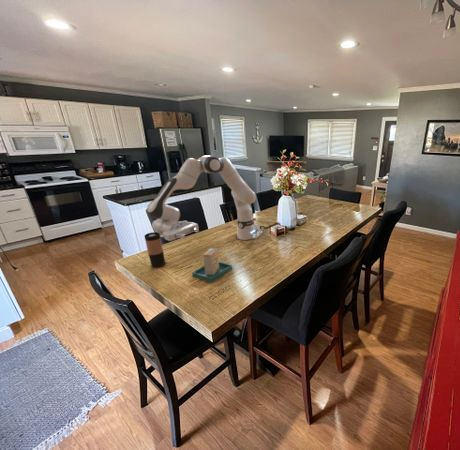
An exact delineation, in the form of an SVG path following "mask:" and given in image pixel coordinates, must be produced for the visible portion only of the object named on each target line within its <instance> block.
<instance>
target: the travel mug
mask: <svg viewBox="0 0 460 450" xmlns="http://www.w3.org/2000/svg"><path fill="white" fill-rule="evenodd" d="M160 235H161V234H159V233H158V232H155V231H152V232H148V233H146V234H144V240H145V245H146V250H147V253H148V258H149V261H150V264H151V267H152V268H153V269H156V268H157V269H158V268H162V267H164V266H165V265H166V259H165V253H164V248H163V244H162V239H161V237H160Z"/></svg>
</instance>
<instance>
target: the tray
mask: <svg viewBox="0 0 460 450" xmlns="http://www.w3.org/2000/svg"><path fill="white" fill-rule="evenodd" d="M232 269H233V265H232V264H228V263H226V262H222V261H219V269H218V270H217V272H216V273H215V274H214V275H213V276H211V275H206V273H205V265H204V264H203V266H200V267H199V268H197V269H196V270H194V271H192V272H191V275H192V277H193V278H196V279H199V280H202V281H205V282H208V283H213V282H215V281H217V280H218V279H219V278H221V277H223V276H224V275H225V274H227V273H229V272H230V271H231V270H232Z"/></svg>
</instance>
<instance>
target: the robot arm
mask: <svg viewBox="0 0 460 450" xmlns="http://www.w3.org/2000/svg"><path fill="white" fill-rule="evenodd" d="M202 173H206V174H219V175H220V177H221V178H222V180H223V181H224V182H225V184H226V185H227V187H228V188H230V190H231V192H230V193H231V197H232V198H233V201H234V205H235V208H236V214H237V221H236V223H237V226H236V227H237V228H236V230H237V231H236V238H237V239H238V240H241V241H243V240H244V241H247V240H256V239H258V238H259V237H260V236H261V235H262V234H263V233H264V230H263V229H269V228H272V227H273V226H275V225H277V224H278V223H277V222H278V221H276V222H274V223H273V224H271V225H269V226H264V225H261V224H258V223H256V221H257V218H256V217H253V209H252V207H251V204H253V203H255V201H256V200H257V195H256V193H255V191H253V190H252V189H251V187H250V186H249V185H248V184H247V182H246V181H245V180H244V179H243V178H242V177H241V175H240V173H239V172H238V170H237V168H236V167H235V166H234V164H233V163H232V162H231V161H230V160H229V159H228V158H227V157H217V156H214V155H209V154H208V155H202V156H199V157H197V158H193V157H189V158H186V160H185V161H184V162H183V163H182V164H181V167H180V169H179V170H178V172H177V173H176V175H175V176H173V177H170V178H169V179H168V180H166V182H165V183H164V185H163V186H162V187H161V189H160V190H159V192H158V193H157V194H156V196H155V197H154V199H152V200H151V201H150V203H149V204H148V205H147V207H146V213H147V215H148V216H149V217H150V218H151V219H155V220H153V221H152V223H151V228H152V230H153V232H158V233H159V234H160V238H163V239H164V240H166V241H168V242H172V241H174V240H177V239H185V238H186V235H189V234H191V233H193V232H194V233H199V232H200V230H199V229H200V228H199V224H198V223H196V222H192V221H188V220H180V219H181V211H180V209H179V208H178V207H176V206H172V205H169V204H167V203H166V202H167V200H168V199H169V197H170V196H171V194H172V193H173V192H174V191H177V190H189V189H192V188H194V186H195V185H196V183H197V181H198V179H199V178H200V177H199V176H200V175H201V174H202ZM301 214H302V212H299V213H298V215H301ZM262 228H263V229H262Z"/></svg>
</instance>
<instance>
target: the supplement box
mask: <svg viewBox="0 0 460 450" xmlns="http://www.w3.org/2000/svg"><path fill="white" fill-rule="evenodd" d="M218 254H219V253H218V248H208V249H207V250H206V251H205V252H204V253H203V254H202V259H203V266H204V265H205V273H206V275H211V276H213V275H214V274H215V273H216V272H217V270H218V269H219V262H220V261H219V255H218Z"/></svg>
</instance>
